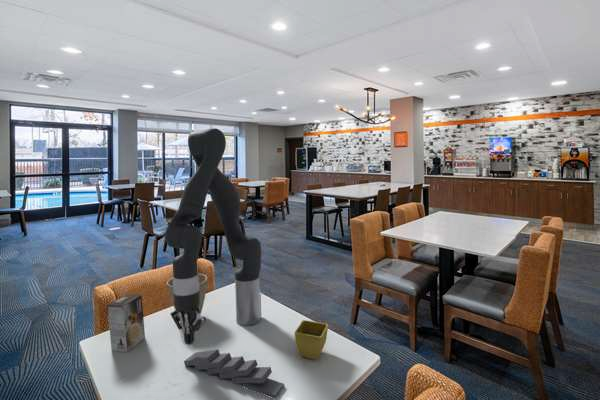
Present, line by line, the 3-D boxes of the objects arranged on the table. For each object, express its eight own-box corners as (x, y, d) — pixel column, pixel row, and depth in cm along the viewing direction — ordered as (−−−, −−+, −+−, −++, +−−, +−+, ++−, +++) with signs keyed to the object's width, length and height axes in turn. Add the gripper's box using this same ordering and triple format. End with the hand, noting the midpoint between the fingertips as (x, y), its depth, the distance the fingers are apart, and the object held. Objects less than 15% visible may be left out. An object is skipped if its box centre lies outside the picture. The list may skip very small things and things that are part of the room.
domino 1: (195, 352, 106) (218, 349, 102) (196, 357, 106) (219, 354, 102) (183, 361, 102) (207, 357, 97) (185, 366, 102) (208, 363, 97)
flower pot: (328, 349, 110) (328, 323, 109) (321, 365, 102) (321, 337, 101) (303, 345, 113) (303, 319, 112) (294, 359, 105) (294, 332, 103)
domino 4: (229, 364, 100) (255, 359, 96) (231, 369, 100) (257, 364, 96) (219, 373, 96) (246, 369, 92) (220, 379, 96) (248, 375, 91)
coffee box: (129, 336, 120) (126, 293, 118) (145, 337, 118) (142, 294, 116) (110, 350, 111) (106, 304, 109) (127, 352, 109) (123, 305, 107)
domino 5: (241, 367, 98) (270, 366, 94) (242, 372, 98) (271, 372, 94) (231, 377, 94) (261, 377, 90) (233, 383, 94) (263, 383, 90)
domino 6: (253, 373, 96) (284, 383, 92) (254, 378, 97) (284, 389, 92) (243, 384, 92) (274, 395, 87) (243, 389, 92) (274, 400, 88)
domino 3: (217, 360, 102) (242, 356, 98) (219, 365, 102) (244, 361, 98) (206, 369, 98) (232, 365, 93) (208, 374, 98) (234, 371, 93)
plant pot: (193, 306, 143) (191, 270, 141) (216, 316, 134) (215, 277, 132) (161, 320, 131) (159, 281, 129) (184, 331, 122) (182, 290, 120)
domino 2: (205, 356, 104) (229, 352, 100) (207, 361, 104) (231, 357, 100) (194, 365, 100) (218, 361, 95) (196, 370, 100) (220, 367, 95)
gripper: (211, 289, 102) (214, 342, 104) (180, 282, 108) (183, 332, 110) (193, 298, 95) (196, 355, 97) (161, 290, 101) (164, 344, 103)
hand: (189, 343), depth 103 cm, fingers closed
